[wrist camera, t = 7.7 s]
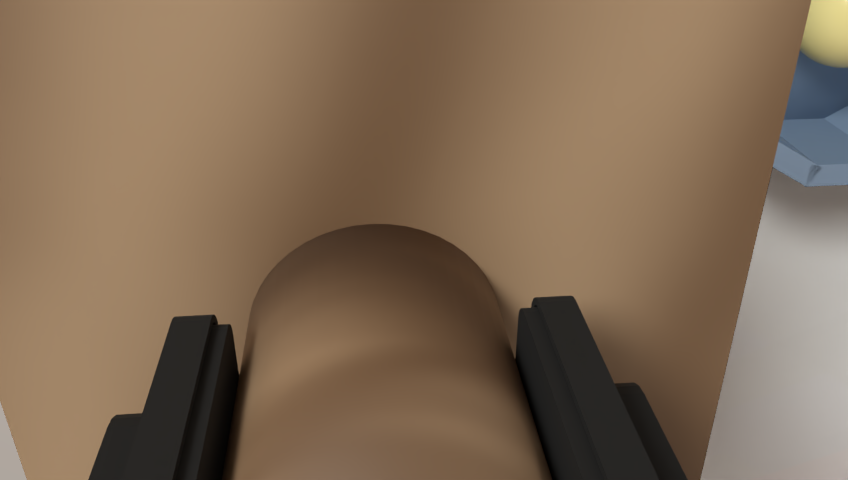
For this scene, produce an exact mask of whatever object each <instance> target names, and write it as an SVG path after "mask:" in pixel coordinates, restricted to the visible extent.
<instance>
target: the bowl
mask: <svg viewBox="0 0 848 480" xmlns="http://www.w3.org/2000/svg"><path fill="white" fill-rule="evenodd" d="M773 168H775V169H777V170H778V171H780V172H782V173H784V174H785V175H787V176H789V177H790V178H792V179H794V180H795V181H797V182H799V183H801V184H802V185H804V186H805V187H807V186H832V185H848V0H811V4H810V9H809V13H808V17H807V21H806V26H805V30H804V34H803V39H802V43H801V47H800V52H799V56H798V60H797V64H796V69H795V73H794V77H793V82H792V86H791V90H790V95H789V99H788V103H787V107H786V112H785V116H784V120H783V125H782V129H781V133H780V138H779V142H778V146H777V151H776V155H775V159H774V163H773Z"/></svg>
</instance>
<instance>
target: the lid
mask: <svg viewBox="0 0 848 480" xmlns="http://www.w3.org/2000/svg"><path fill="white" fill-rule="evenodd" d="M810 4H811V0H0V402H1V405H2V408H3V411H4V413H5V416H6V419H7V422H8V425H9V428H10V431H11V434H12V437H13V440H14V443H15V446H16V449H17V452H18V455H19V457H20V461H21V464H22V466H23V469H24V472H25V475H26V478H27V480H88V479H89V476H90V473H91V471H92V468H93V465H94V462H95V460H96V457H97V454H98V451H99V449H100V446H101V443H102V440H103V438H104V435H105V432H106V429H107V427H108V425H109V423H110V421H111V419H112V418H113V417H114V416H115V415H120V414H136V413H142V412H143V409H144V406H145V403H146V400H147V396H148V393H149V390H150V387H151V384H152V381H153V377H154V374H155V371H156V368H157V365H158V362H159V358H160V355H161V352H162V349H163V346H164V343H165V339H166V336H167V333H168V330H169V327H170V324H171V321H172V319H173V318H174V317H176V316H194V315H213V314H214V315H215V316H216V318H217V321H218V325H219V324H230V325H231V327H232V331H233V337H234V343H235V350H236V357H237V364H238V371H239V380H238V386H237V392H236V398H235V404H234V409H233V415H232V421H231V427H230V433H229V439H228V445H227V451H226V456H225V462H224V468H223V474H222V480H552V477H551V473H550V470H549V467H548V464H547V460H546V457H545V454H544V451H543V448H542V444H541V441H540V438H539V435H538V431H537V428H536V425H535V422H534V419H533V415H532V412H531V409H530V406H529V402H528V399H527V396H526V393H525V389H524V386H523V383H522V380H521V377H520V373H519V370H518V367H517V364H516V360H515V357H516V342H517V328H518V315H519V310H520V309H521V308H531V304H532V301H533V299H534V298H535V297H551V296H570V295H571V296H573V297H574V298H575V300H576V302H577V304H578V306H579V308H580V310H581V312H582V315H583V317H584V319H585V321H586V323H587V325H588V327H589V330H590V332H591V334H592V336H593V338H594V340H595V343H596V345H597V347H598V349H599V351H600V353H601V356H602V358H603V360H604V362H605V364H606V366H607V368H608V371H609V373H610V375H611V377H612V379H613V381H614V384H615V383H632V382H634V383H636V384H637V385H639V386H640V388H641V389H642V391H643V392H644V394H645V396H646V398H647V400H648V402H649V404H650V406H651V408H652V410H653V412H654V414H655V416H656V418H657V420H658V422H659V424H660V426H661V428H662V430H663V432H664V434H665V436H666V438H667V440H668V442H669V444H670V446H671V448H672V450H673V452H674V453H675V455H676V457H677V459H678V461H679V463H680V465H681V467H682V469H683V471H684V473H685V475H686V477H687V479H688V480H700V478H701V473H702V469H703V465H704V460H705V456H706V452H707V447H708V443H709V439H710V434H711V430H712V426H713V422H714V417H715V413H716V409H717V404H718V400H719V396H720V391H721V387H722V383H723V379H724V374H725V370H726V366H727V361H728V357H729V353H730V348H731V344H732V340H733V336H734V331H735V327H736V323H737V318H738V314H739V310H740V305H741V301H742V297H743V293H744V288H745V284H746V280H747V275H748V271H749V267H750V262H751V258H752V254H753V249H754V245H755V241H756V237H757V232H758V228H759V224H760V219H761V215H762V211H763V206H764V202H765V198H766V194H767V189H768V185H769V181H770V176H771V172H772V168H773V163H774V159H775V155H776V151H777V146H778V142H779V138H780V133H781V129H782V125H783V120H784V116H785V112H786V107H787V103H788V99H789V95H790V90H791V86H792V82H793V77H794V73H795V69H796V64H797V60H798V56H799V52H800V47H801V43H802V39H803V34H804V30H805V26H806V21H807V17H808V13H809V9H810Z"/></svg>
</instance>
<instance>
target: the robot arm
mask: <svg viewBox="0 0 848 480" xmlns="http://www.w3.org/2000/svg"><path fill="white" fill-rule="evenodd" d="M515 360H516V364H517V367H518V370H519V373H520V377H521V380H522V383H523V386H524V389H525V393H526V396H527V399H528V402H529V406H530V409H531V412H532V415H533V419H534V422H535V425H536V428H537V431H538V435H539V438H540V441H541V444H542V448H543V451H544V454H545V457H546V460H547V464H548V467H549V470H550V473H551V477H552V480H688V479H687V477H686V475H685V473H684V471H683V469H682V467H681V465H680V463H679V461H678V459H677V457H676V455H675V453H674V452H673V450H672V448H671V446H670V444H669V442H668V440H667V438H666V436H665V434H664V432H663V430H662V428H661V426H660V424H659V422H658V420H657V418H656V416H655V414H654V412H653V410H652V408H651V406H650V404H649V402H648V400H647V398H646V396H645V394H644V392H643V391H642V389H641V388H640V386H639V385H637V384H636V383H634V382H632V383H615V384H614V381H613V379H612V377H611V375H610V373H609V371H608V368H607V366H606V364H605V362H604V360H603V358H602V356H601V353H600V351H599V349H598V347H597V345H596V343H595V340H594V338H593V336H592V334H591V332H590V330H589V327H588V325H587V323H586V321H585V319H584V317H583V315H582V312H581V310H580V308H579V306H578V304H577V302H576V300H575V298H574V297H573V296H571V295H570V296H551V297H535V298H534V299H533V301H532V304H531V308H521V309H520V310H519V315H518V328H517V342H516V357H515ZM238 380H239V371H238V364H237V357H236V350H235V343H234V337H233V331H232V327H231V325H230V324H219V325H218V321H217V318H216V316H215V315H214V314H213V315H194V316H176V317H174V318H173V319H172V321H171V324H170V327H169V330H168V333H167V336H166V339H165V343H164V346H163V349H162V352H161V355H160V358H159V362H158V365H157V368H156V371H155V374H154V377H153V381H152V384H151V387H150V390H149V393H148V396H147V400H146V403H145V406H144V409H143V412H142V413H136V414H120V415H115V416H114V417H113V418H112V419H111V421H110V423H109V425H108V427H107V429H106V432H105V435H104V438H103V440H102V443H101V446H100V449H99V451H98V454H97V457H96V460H95V462H94V465H93V468H92V471H91V473H90V476H89V479H88V480H222V474H223V468H224V462H225V456H226V451H227V445H228V439H229V433H230V427H231V421H232V415H233V409H234V404H235V398H236V392H237V386H238Z"/></svg>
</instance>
